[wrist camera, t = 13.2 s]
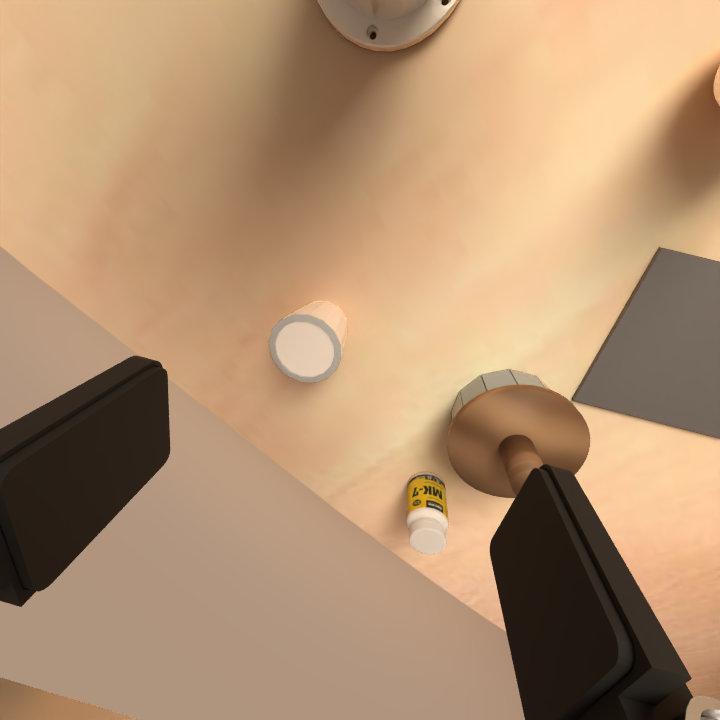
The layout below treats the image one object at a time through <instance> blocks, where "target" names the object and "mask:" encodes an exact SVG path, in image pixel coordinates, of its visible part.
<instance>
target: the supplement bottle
mask: <svg viewBox="0 0 720 720" xmlns="http://www.w3.org/2000/svg"><path fill="white" fill-rule="evenodd" d="M406 522H407V527H408V529H409V540H410V544H411V546H412V547H413V548H414V549H415V550H417V551H419V552H421V553H425V554H435V553H438V552H440V551H442V550H443V549H444V548H445V546H446V532H447V530H448V513H447V502H446V492H445V485H444V482H443V480H442V479H441V478H440V477H439V476H437V475H436V474H433V473H429V472H422V473H418V474H415V475H414V476H412V477H411V478H410V480H409V482H408V491H407V517H406Z"/></svg>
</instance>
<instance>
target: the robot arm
mask: <svg viewBox="0 0 720 720" xmlns="http://www.w3.org/2000/svg"><path fill="white" fill-rule="evenodd" d="M317 1H318V3H319V5H320V7H321V9H322V11H323V13H324V14H325V16H326V17H327V18H328V20H329V21H330V22H331V24H332V25H333V26H334V28H335V29H336V30H337V31H339V32H340V33H341V34H342V35H343V36H344V37H345V38H346V39H348V40H349V41H351V42H353V43H355V44H356V45H358V46H360V47H363V48H366V49H370V50H373V51H389V52H390V51H395V50H400V49H405V48H407V47H410V46H412V45H414V44H416V43H418V42H421V41H422V40H423V39H425V38H426V37H428V36H429V35H430V34H432V33H433V32H434V31H436V30H437V29H438V27H439V26H440V25H441V24H442V23H443V22H444V21H445V20H446V19H447V18H448V17H449V16H450V14H451V13H452V11H453V10H454V9H455V7H456V6H457V4H458V3H459V1H460V0H447V1H448V4H447V5H444V6H443V5H442V4H441V2H442V1H443V0H317ZM373 33H375V34H376V38H375V39H374V40H372V39H370V36H371V34H373ZM169 454H170V431H169V404H168V376H167V371H166V370H165V369H163V367H162V365H161V363H160V362H158V361H155V360H151V359H148V358H144V357H140V356H133V357H130V358H128V359H126V360H124V361H123V362H121V363H119V364H117V365H115V366H113V367H112V368H110V369H108V370H106V371H104V372H103V373H101V374H99V375H97V376H95V377H94V378H92V379H90V380H88V381H86V382H85V383H83V384H81V385H79V386H77V387H76V388H74V389H72V390H70V391H68V392H67V393H65V394H63V395H61V396H59V397H58V398H56V399H54V400H52V401H50V402H49V403H47V404H45V405H43V406H41V407H39V408H38V409H36V410H34V411H32V412H30V413H29V414H27V415H25V416H23V417H21V418H20V419H18V420H16V421H14V422H12V423H11V424H9V425H7V426H5V427H3V428H2V429H0V601H3V602H6V603H10V604H13V605H16V606H20V607H22V605H24V603H25V602H26V601H27V600H28V599H29V598H30V597H31V596H32V595H33V594H34V593H35V592H36V591H41V590H44V589H45V588H47V587H48V586H49V585H50V584H51V583H53V581H54V580H55V579H56V578H57V577H58V576H59V575H60V574H61V573H62V572H63V571H64V570H65V569H66V568H67V567H68V566H69V565H70V563H71V562H72V561H73V560H74V559H75V558H76V557H77V556H78V555H79V554H80V553H81V552H82V551H83V550H84V549H85V548H86V547H87V545H89V543H90V542H91V541H92V540H93V539H94V538H95V537H96V536H97V535H98V534H99V533H100V532H101V531H102V530H103V529H104V528H105V527H106V525H107V524H108V523H109V522H110V521H111V520H112V519H113V518H114V517H115V516H116V515H117V514H118V513H119V511H121V510H122V509H123V507H124V506H125V505H126V504H127V503H128V502H129V501H130V500H131V499H132V498H133V497H134V496H135V495H136V494H137V493H138V492H139V490H140V489H141V488H142V487H143V486H144V485H145V484H146V483H147V482H148V481H149V480H150V479H151V478H152V477H153V476H154V475H155V474H156V473H157V471H158V470H159V469H160V468H161V467H162V466H163V465H164V464H165V463H166V461H167V459H168V457H169ZM490 556H491V561H492V566H493V571H494V575H495V580H496V585H497V589H498V594H499V599H500V604H501V608H502V613H503V618H504V622H505V627H506V632H507V636H508V641H509V646H510V651H511V655H512V660H513V664H514V670H515V674H516V679H517V683H518V688H519V692H520V698H521V702H522V707H523V712H524V717H525V720H720V700H718V699H716V698H713V697H707V696H702V695H700V696H697V697H694V698H693V696H692V694H691V693H690V691H689V689H688V687H687V685H686V684H685V683H687V682H688V681H689V680H691V679H692V678H691V676H690V675H689V673H688V671H687V669H686V668H685V666H684V664H683V662H682V661H681V659H680V657H679V656H678V654H677V652H676V650H675V649H674V647H673V645H672V643H671V642H670V640H669V638H668V637H667V635H666V633H665V631H664V630H663V628H662V626H661V624H660V623H659V621H658V619H657V618H656V616H655V614H654V612H653V611H652V609H651V607H650V605H649V604H648V602H647V600H646V599H645V597H644V595H643V593H642V592H641V590H640V588H639V586H638V585H637V583H636V581H635V579H634V578H633V576H632V574H631V573H630V571H629V569H628V567H627V566H626V564H625V562H624V560H623V559H622V557H621V555H620V554H619V552H618V550H617V548H616V547H615V545H614V543H613V541H612V540H611V538H610V536H609V535H608V533H607V531H606V529H605V528H604V526H603V524H602V522H601V521H600V519H599V517H598V516H597V514H596V512H595V510H594V509H593V507H592V505H591V503H590V502H589V500H588V498H587V496H586V495H585V493H584V491H583V490H582V488H581V486H580V484H579V483H578V481H577V479H576V477H575V476H574V474H573V473H572V472H571V471H569V470H566V469H562V468H559V467H555V466H551V465H547V464H543V465H542V466H540V467H539V468H534V469H532V471H531V472H530V474H529V476H528V477H527V479H526V481H525V482H524V484H523V486H522V488H521V489H520V491H519V493H518V495H517V496H516V498H515V500H514V501H513V503H512V505H511V507H510V508H509V510H508V512H507V514H506V515H505V517H504V519H503V520H502V522H501V524H500V526H499V527H498V529H497V531H496V533H495V534H494V536H493V538H492V540H491V543H490ZM0 720H140V719H137V718H134V717H131V716H127V715H124V714H121V713H117V712H113V711H110V710H107V709H104V708H100V707H97V706H94V705H90V704H87V703H83V702H80V701H77V700H74V699H70V698H67V697H64V696H60V695H57V694H54V693H50V692H47V691H43V690H40V689H37V688H33V687H30V686H27V685H24V684H20V683H17V682H13V681H10V680H7V679H3V678H0Z"/></svg>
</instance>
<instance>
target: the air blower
mask: <svg viewBox="0 0 720 720" xmlns="http://www.w3.org/2000/svg"><path fill="white" fill-rule="evenodd" d="M714 96H715V99H716V101H717V103H718V105H719V106H720V65H719V68H718V70H717V73H716V76H715V80H714Z"/></svg>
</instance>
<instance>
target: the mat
mask: <svg viewBox="0 0 720 720" xmlns="http://www.w3.org/2000/svg"><path fill="white" fill-rule="evenodd" d="M572 399H573V400H574V401H577V402H581V403H585V404H589V405H593V406H597V407H601V408H605V409H608V410H612V411H616V412H620V413H624V414H628V415H632V416H635V417H639V418H643V419H647V420H651V421H655V422H659V423H663V424H666V425H670V426H674V427H678V428H682V429H686V430H690V431H694V432H697V433H701V434H705V435H709V436H713V437H717V438H720V262H719V261H715V260H710V259H706V258H702V257H698V256H694V255H690V254H685V253H681V252H677V251H673V250H669V249H665V248H660V247H659V249H658V250H657V252H656V254H655V256H654V257H653V259H652V261H651V263H650V264H649V266H648V268H647V269H646V271H645V273H644V275H643V276H642V278H641V280H640V282H639V283H638V285H637V287H636V289H635V290H634V292H633V294H632V295H631V297H630V299H629V301H628V302H627V304H626V306H625V308H624V309H623V311H622V313H621V315H620V316H619V318H618V320H617V322H616V323H615V325H614V327H613V328H612V330H611V332H610V334H609V335H608V337H607V339H606V341H605V342H604V344H603V346H602V348H601V349H600V351H599V353H598V354H597V356H596V358H595V360H594V361H593V363H592V365H591V367H590V368H589V370H588V372H587V374H586V375H585V377H584V379H583V380H582V382H581V384H580V386H579V387H578V389H577V391H576V393H575V394H574V396H573V398H572Z"/></svg>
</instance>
